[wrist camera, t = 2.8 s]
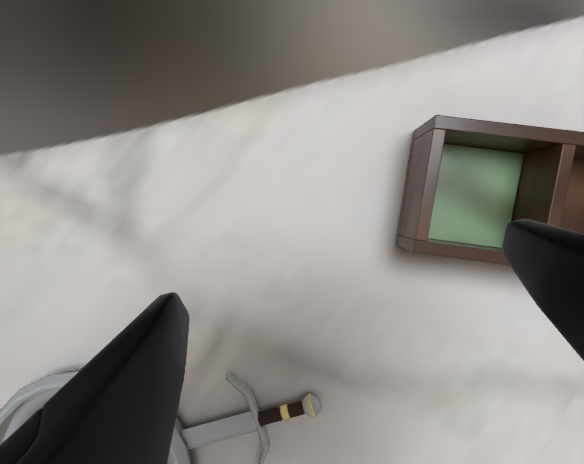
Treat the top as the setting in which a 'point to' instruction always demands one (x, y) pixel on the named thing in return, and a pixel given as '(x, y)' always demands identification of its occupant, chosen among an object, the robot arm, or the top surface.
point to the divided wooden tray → (487, 185)
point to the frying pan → (42, 390)
